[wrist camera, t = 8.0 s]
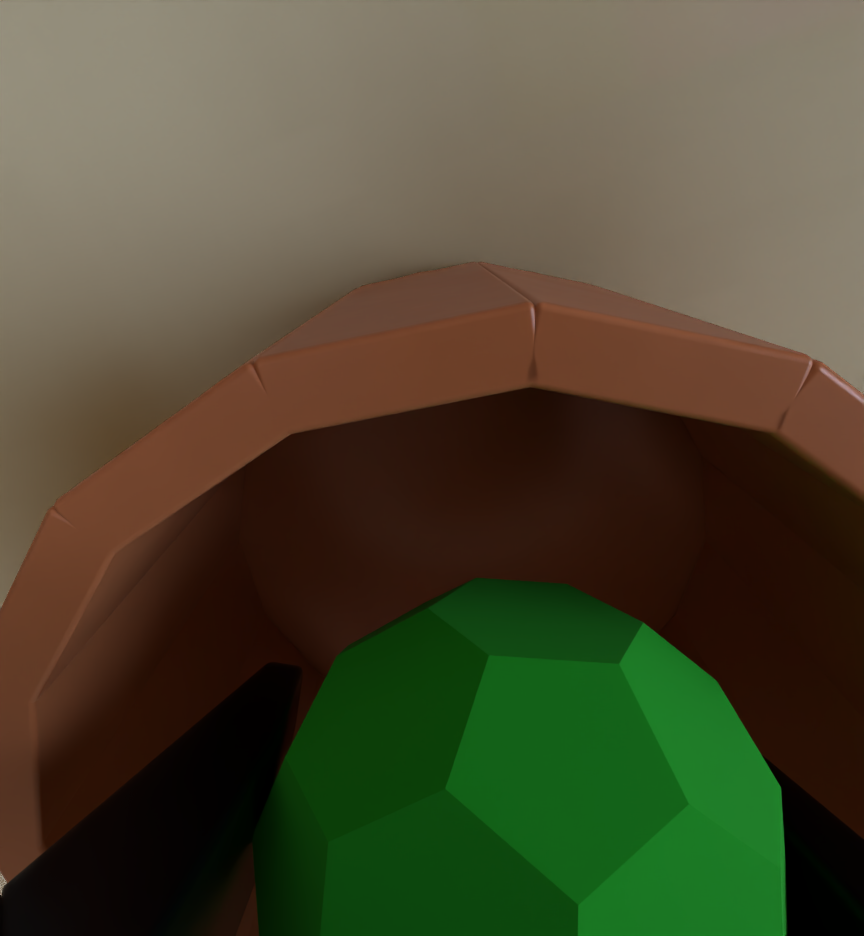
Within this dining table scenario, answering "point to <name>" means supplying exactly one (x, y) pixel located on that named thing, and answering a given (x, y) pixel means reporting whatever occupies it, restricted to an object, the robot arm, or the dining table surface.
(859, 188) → the dining table surface
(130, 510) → the pot
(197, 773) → the robot arm
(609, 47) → the dining table surface
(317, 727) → the polyhedron
